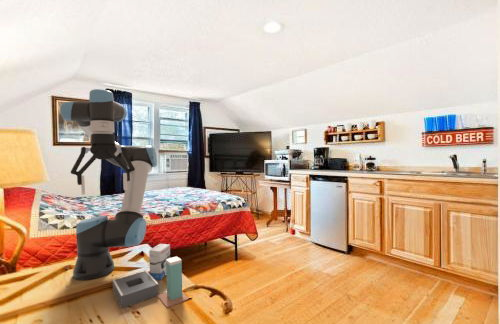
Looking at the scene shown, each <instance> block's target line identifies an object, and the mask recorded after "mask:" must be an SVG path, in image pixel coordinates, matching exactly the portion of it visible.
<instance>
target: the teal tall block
mask: <svg viewBox="0 0 500 324" xmlns="http://www.w3.org/2000/svg"><path fill="white" fill-rule="evenodd" d="M182 265H183V263H182V259H181V257H178V256H177V255H176V256H173V257H170V258H168V259H166V276H165V277H166V278H165V279H166V292H167V296H168V297H169V299H170V300H171V301H172V300H175V299H177V298H180V297H183V293H182V287H183V271H182V269H183V267H182Z"/></svg>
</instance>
